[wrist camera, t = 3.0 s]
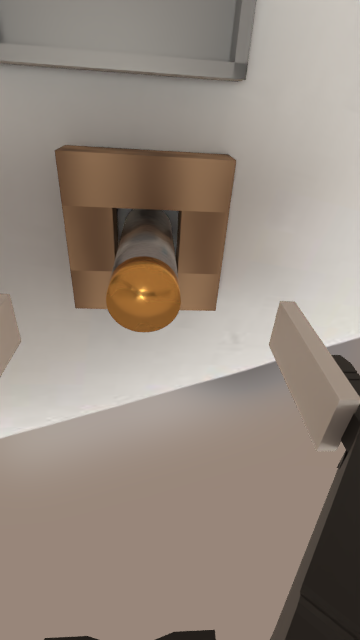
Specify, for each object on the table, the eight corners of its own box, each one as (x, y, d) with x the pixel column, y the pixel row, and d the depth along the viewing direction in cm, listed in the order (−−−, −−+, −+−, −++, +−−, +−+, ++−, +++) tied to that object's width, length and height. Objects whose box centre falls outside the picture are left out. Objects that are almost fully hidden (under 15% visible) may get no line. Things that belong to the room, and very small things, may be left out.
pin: (124, 251, 29) (108, 331, 19) (122, 204, 27) (103, 266, 17) (170, 253, 29) (178, 332, 19) (172, 206, 27) (183, 268, 17)
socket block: (82, 291, 31) (75, 308, 28) (65, 145, 24) (54, 150, 22) (210, 294, 32) (215, 310, 29) (228, 154, 25) (236, 160, 23)
